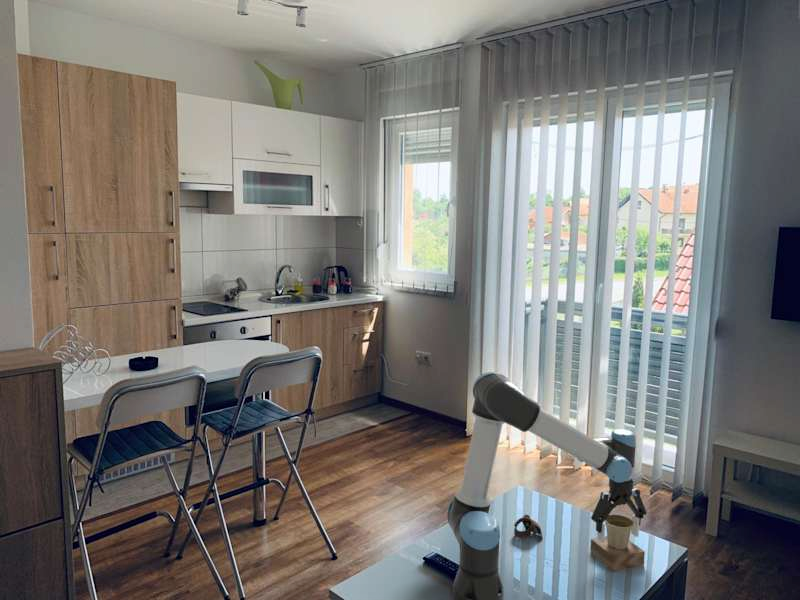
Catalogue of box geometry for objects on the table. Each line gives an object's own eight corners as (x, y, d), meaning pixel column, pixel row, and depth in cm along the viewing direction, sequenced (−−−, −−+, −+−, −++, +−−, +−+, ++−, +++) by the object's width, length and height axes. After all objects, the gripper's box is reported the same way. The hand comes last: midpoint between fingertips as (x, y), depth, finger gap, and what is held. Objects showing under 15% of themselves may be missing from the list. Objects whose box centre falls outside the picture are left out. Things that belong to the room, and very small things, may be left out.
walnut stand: (613, 571, 191) (613, 557, 191) (590, 552, 203) (591, 538, 202) (643, 565, 195) (644, 551, 195) (619, 547, 206) (620, 533, 206)
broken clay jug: (546, 545, 208) (537, 529, 205) (521, 554, 210) (512, 538, 207) (540, 521, 219) (531, 505, 217) (516, 530, 221) (507, 514, 218)
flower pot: (596, 541, 201) (597, 516, 200) (617, 535, 205) (618, 511, 204) (617, 555, 192) (618, 529, 191) (638, 548, 196) (640, 524, 195)
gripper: (596, 486, 188) (592, 549, 191) (660, 476, 196) (656, 537, 198) (582, 476, 195) (579, 537, 198) (644, 468, 203) (640, 527, 205)
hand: (617, 537), depth 198 cm, fingers open, 13 cm apart
